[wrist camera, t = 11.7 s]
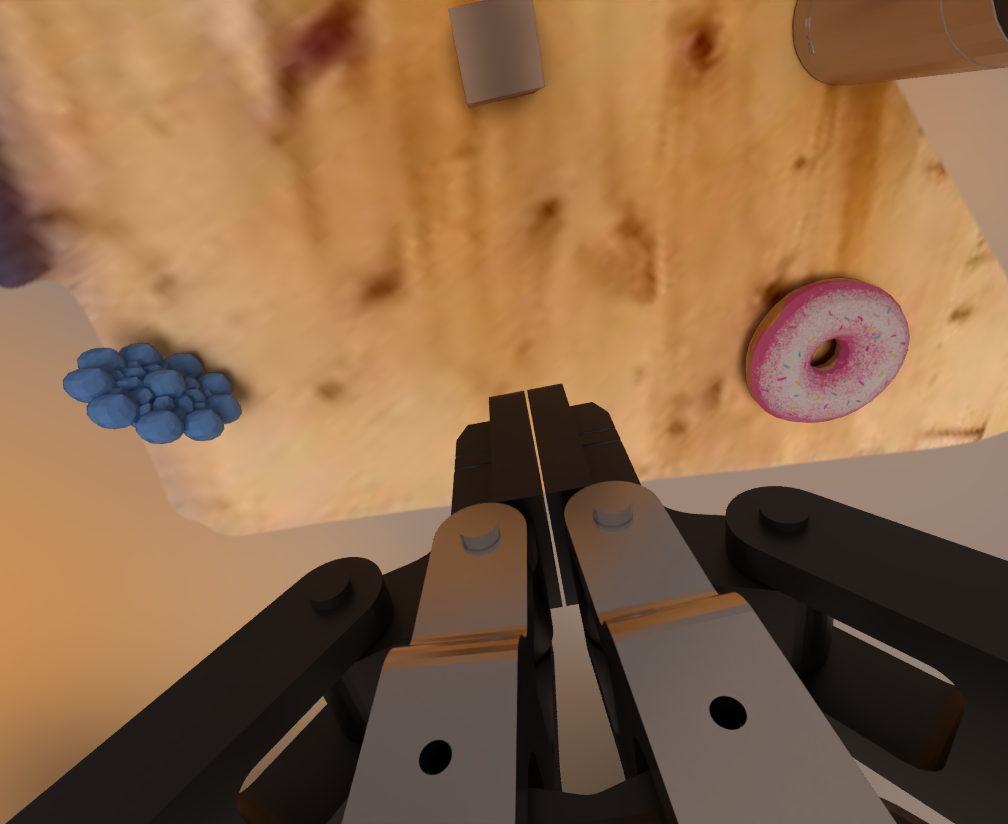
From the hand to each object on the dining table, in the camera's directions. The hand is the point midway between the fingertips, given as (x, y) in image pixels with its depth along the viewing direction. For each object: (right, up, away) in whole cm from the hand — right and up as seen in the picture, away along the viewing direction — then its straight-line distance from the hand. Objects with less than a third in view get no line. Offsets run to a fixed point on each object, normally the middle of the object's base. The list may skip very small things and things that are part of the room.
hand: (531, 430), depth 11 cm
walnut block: (-1, +26, +28) cm, 38 cm away
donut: (+28, +7, +40) cm, 49 cm away
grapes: (-29, +4, +38) cm, 48 cm away
